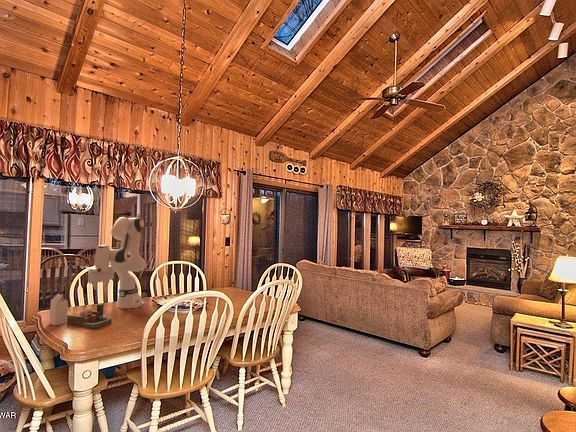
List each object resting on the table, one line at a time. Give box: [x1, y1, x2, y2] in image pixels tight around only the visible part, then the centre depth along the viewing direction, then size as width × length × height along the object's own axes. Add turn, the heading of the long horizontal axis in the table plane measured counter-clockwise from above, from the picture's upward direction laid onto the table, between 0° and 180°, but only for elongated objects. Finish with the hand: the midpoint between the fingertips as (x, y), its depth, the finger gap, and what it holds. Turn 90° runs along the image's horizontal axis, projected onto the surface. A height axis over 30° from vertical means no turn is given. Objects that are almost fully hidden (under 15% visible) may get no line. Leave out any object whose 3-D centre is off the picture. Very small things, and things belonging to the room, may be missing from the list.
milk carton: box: [49, 293, 69, 326], centre depth 226 cm, size 7×7×19 cm
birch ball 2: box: [86, 308, 94, 315], centre depth 230 cm, size 4×4×4 cm
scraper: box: [96, 303, 108, 318], centre depth 240 cm, size 10×3×10 cm, turn 76°
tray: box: [81, 317, 112, 330], centre depth 225 cm, size 14×10×3 cm
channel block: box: [66, 309, 99, 328], centre depth 228 cm, size 14×12×6 cm
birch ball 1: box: [79, 310, 87, 317], centre depth 225 cm, size 4×4×4 cm
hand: (100, 287), depth 240 cm, fingers open, 8 cm apart
